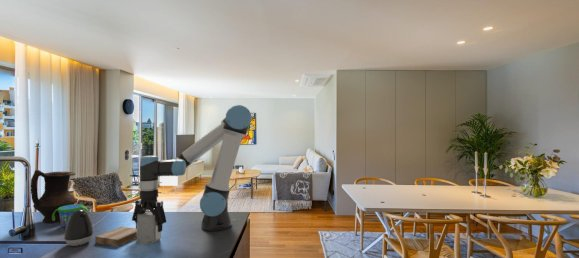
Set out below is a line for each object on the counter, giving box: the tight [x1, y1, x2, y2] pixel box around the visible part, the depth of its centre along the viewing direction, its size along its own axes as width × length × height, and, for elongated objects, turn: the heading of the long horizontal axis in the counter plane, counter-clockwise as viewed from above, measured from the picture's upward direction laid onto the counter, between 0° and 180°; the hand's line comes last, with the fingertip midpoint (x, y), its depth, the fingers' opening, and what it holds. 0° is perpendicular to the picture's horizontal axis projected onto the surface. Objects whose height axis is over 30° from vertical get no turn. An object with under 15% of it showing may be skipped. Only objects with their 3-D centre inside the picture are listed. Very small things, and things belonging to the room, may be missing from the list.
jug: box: [30, 169, 78, 224], centre depth 150 cm, size 21×18×30 cm
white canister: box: [136, 210, 161, 245], centre depth 122 cm, size 10×10×12 cm
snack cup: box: [52, 203, 90, 228], centre depth 142 cm, size 16×10×10 cm
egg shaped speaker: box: [63, 209, 94, 247], centre depth 119 cm, size 10×10×15 cm
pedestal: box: [94, 226, 137, 247], centre depth 123 cm, size 13×13×3 cm
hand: (148, 237), depth 122 cm, fingers open, 10 cm apart
